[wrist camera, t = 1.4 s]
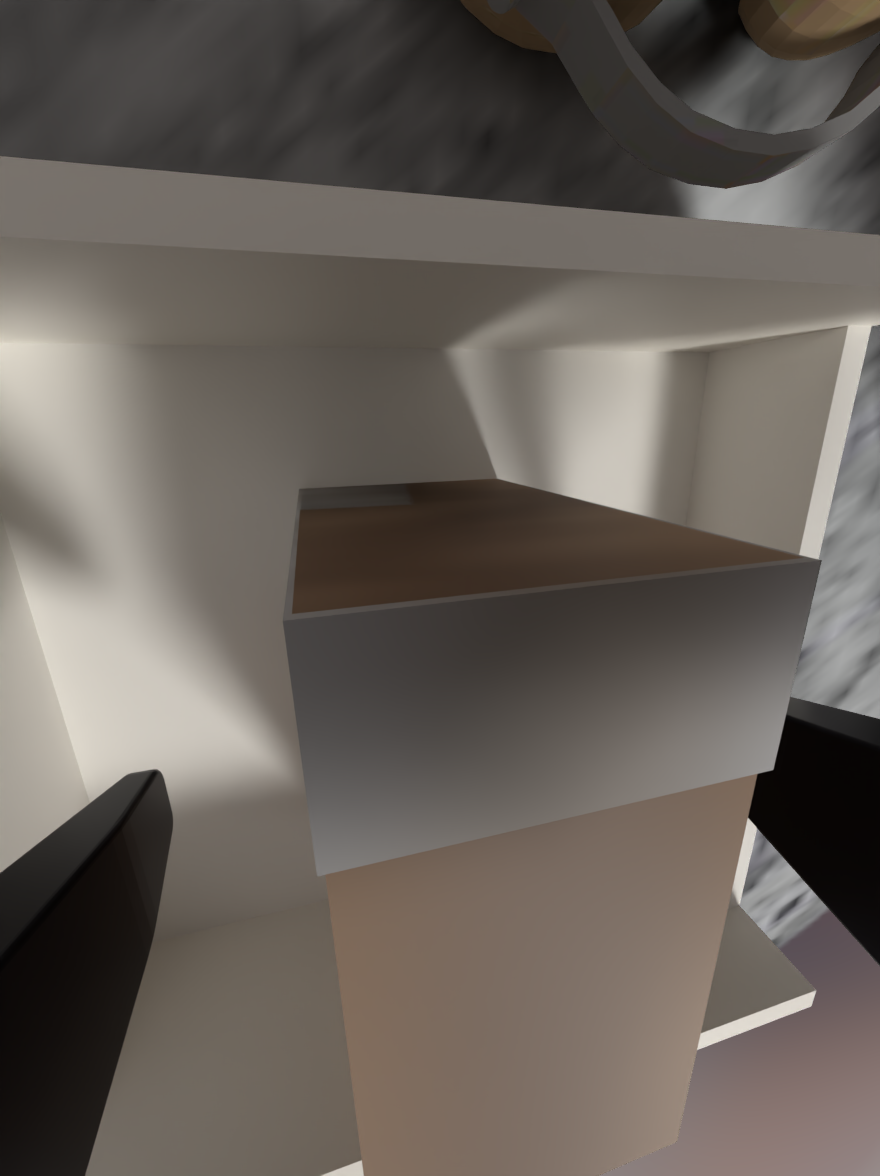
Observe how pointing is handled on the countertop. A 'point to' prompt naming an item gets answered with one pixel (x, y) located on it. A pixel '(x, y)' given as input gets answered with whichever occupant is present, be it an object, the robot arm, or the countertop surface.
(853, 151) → the countertop surface
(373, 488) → the walnut block
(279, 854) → the drawer
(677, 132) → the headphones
